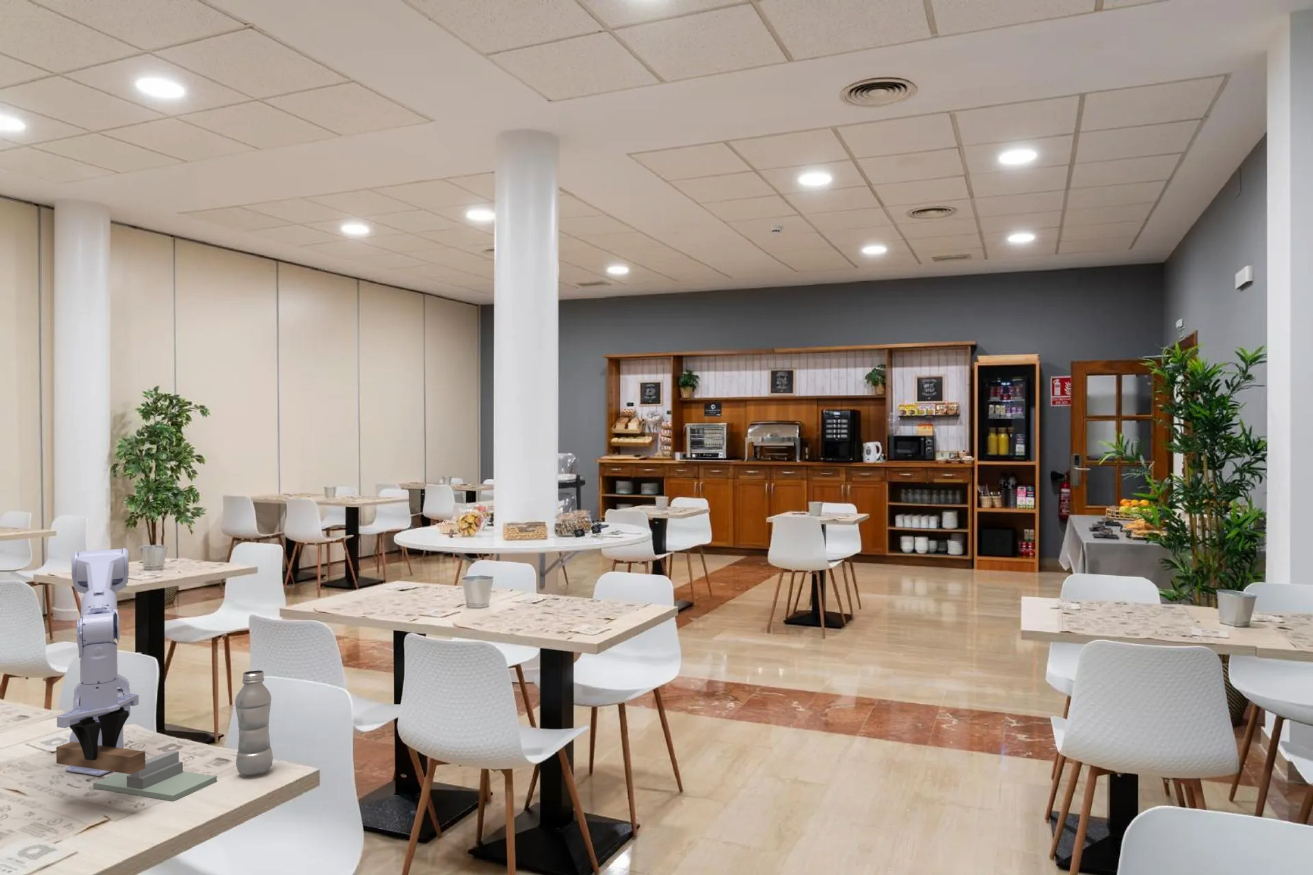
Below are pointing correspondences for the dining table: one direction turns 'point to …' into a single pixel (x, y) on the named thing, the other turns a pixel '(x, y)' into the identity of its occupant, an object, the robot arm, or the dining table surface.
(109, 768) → the walnut beam
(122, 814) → the dining table surface
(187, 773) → the balance stand
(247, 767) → the plastic bottle
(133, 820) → the dining table surface
